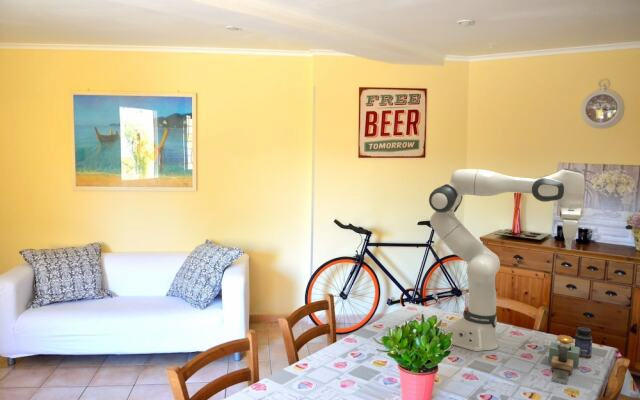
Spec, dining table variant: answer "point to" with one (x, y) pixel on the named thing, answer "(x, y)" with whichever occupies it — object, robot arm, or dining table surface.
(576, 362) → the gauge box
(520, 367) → the dining table surface
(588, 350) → the pill bottle
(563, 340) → the plunger
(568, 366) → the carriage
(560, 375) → the rail
